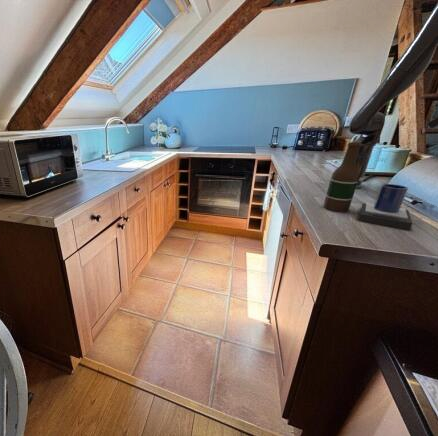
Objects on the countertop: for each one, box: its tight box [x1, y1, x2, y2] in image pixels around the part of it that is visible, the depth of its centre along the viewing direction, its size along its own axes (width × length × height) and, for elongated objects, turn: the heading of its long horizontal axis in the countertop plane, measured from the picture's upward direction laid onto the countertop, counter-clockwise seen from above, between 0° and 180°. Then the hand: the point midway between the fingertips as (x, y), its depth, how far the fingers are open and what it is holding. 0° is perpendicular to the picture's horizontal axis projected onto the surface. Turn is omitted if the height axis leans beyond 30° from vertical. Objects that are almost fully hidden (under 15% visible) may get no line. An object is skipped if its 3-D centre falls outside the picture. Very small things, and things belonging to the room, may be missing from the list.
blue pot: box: [373, 183, 409, 213], centre depth 80 cm, size 6×6×8 cm
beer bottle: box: [323, 141, 361, 213], centre depth 87 cm, size 8×8×24 cm
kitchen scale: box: [358, 202, 413, 231], centre depth 81 cm, size 14×12×3 cm
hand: (434, 126), depth 76 cm, fingers open, 8 cm apart
